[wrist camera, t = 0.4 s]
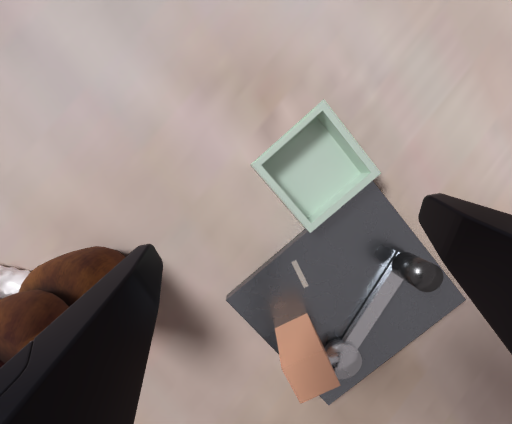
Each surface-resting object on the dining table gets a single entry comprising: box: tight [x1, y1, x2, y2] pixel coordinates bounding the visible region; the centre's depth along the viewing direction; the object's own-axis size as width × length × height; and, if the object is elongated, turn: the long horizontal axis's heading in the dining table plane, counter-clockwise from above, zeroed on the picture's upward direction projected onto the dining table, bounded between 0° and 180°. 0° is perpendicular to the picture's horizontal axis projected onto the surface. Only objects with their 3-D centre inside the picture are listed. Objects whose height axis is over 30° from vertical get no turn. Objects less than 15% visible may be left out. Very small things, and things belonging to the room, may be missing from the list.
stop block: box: [275, 313, 341, 404], centre depth 21 cm, size 4×4×5 cm
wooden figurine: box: [0, 246, 125, 368], centre depth 16 cm, size 7×6×15 cm
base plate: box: [226, 181, 466, 405], centre depth 24 cm, size 16×18×1 cm
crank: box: [324, 252, 443, 379], centre depth 22 cm, size 14×4×4 cm, turn 151°
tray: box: [251, 99, 381, 233], centre depth 21 cm, size 8×8×2 cm
